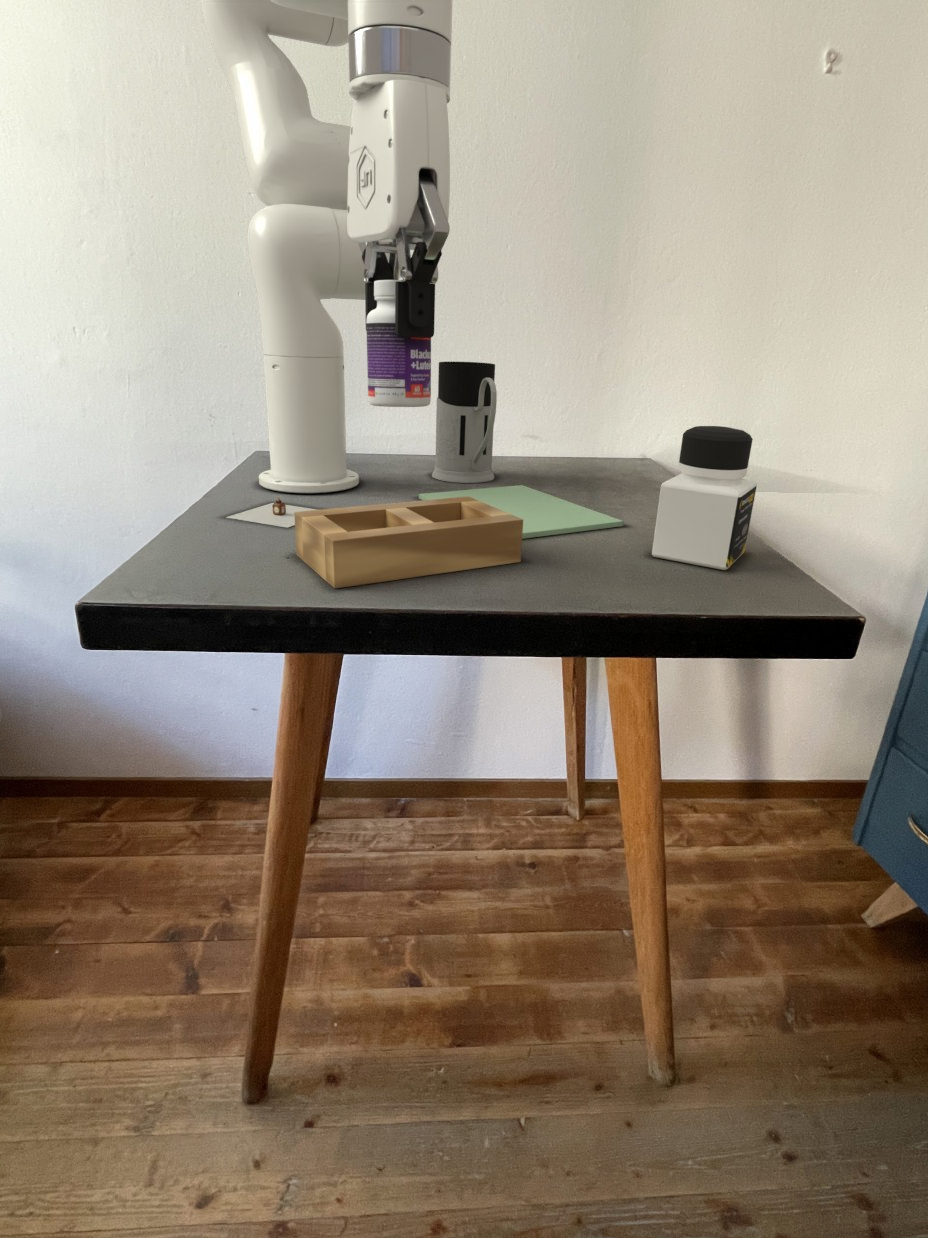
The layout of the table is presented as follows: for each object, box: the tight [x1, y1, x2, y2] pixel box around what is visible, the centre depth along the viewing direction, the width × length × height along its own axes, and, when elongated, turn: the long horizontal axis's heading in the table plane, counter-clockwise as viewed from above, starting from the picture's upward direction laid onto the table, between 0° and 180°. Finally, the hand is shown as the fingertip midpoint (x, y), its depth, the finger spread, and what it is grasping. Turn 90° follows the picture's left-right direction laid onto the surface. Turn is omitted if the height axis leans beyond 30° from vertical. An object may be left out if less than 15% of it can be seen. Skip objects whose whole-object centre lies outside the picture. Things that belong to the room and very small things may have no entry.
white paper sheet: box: [225, 496, 318, 528], centre depth 80 cm, size 8×8×2 cm
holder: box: [294, 496, 523, 589], centre depth 66 cm, size 10×18×4 cm, turn 119°
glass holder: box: [431, 361, 498, 484], centre depth 98 cm, size 9×14×15 cm, turn 21°
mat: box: [418, 484, 624, 540], centre depth 85 cm, size 20×15×1 cm
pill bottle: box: [365, 279, 432, 408], centre depth 62 cm, size 5×5×10 cm
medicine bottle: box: [651, 425, 758, 571], centre depth 69 cm, size 7×7×12 cm
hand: (398, 332), depth 62 cm, fingers closed on pill bottle, 5 cm apart
